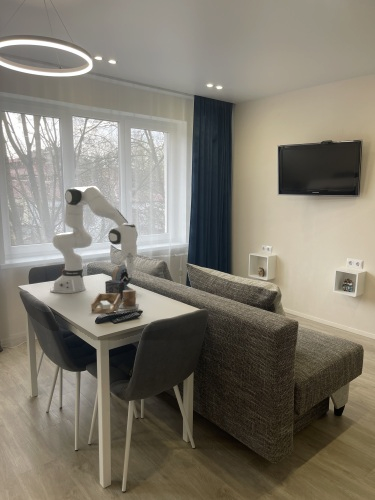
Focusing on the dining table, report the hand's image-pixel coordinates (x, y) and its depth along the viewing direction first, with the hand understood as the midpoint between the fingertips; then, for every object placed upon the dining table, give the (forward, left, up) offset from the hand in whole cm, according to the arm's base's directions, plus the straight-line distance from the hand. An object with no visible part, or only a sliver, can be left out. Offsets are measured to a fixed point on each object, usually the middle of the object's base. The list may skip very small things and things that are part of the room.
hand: (129, 275), depth 211 cm
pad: (0, 0, -19) cm, 18 cm away
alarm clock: (-9, +36, -19) cm, 41 cm away
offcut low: (-13, -7, -19) cm, 24 cm away
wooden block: (0, 0, -18) cm, 18 cm away
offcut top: (-13, -7, -17) cm, 22 cm away
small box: (-11, +19, -19) cm, 29 cm away
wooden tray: (-13, -1, -19) cm, 23 cm away
